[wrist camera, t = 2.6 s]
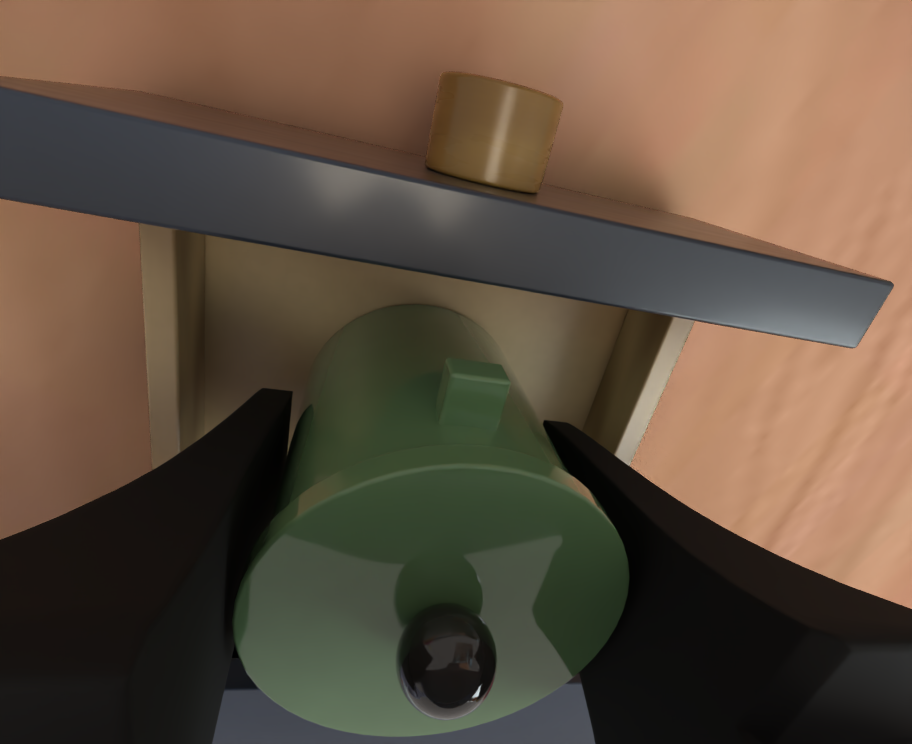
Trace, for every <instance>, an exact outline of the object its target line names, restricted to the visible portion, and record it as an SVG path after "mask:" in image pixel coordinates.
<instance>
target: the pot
mask: <svg viewBox="0 0 912 744" xmlns="http://www.w3.org/2000/svg"><path fill="white" fill-rule="evenodd" d="M629 580H630V574H629V564H628V556H627V553H626V550H625V547H624V543H623V541H622V539H621V537H620V535H619V533H618V531H617V529H616V528H615V526H614V524H613V522H612V521H611V519H610V517H609V516H608V514H607V512H606V510H605V509H604V507H603V506H602V504H601V503H600V502H599V501H598V499H597V498H596V497H595V496H594V495H593V493H592V492H591V491H590V490H589V489H588V488H586V487H585V486H584V485H583V484H582V483H581V482H579V481H578V480H577V479H576V478H575V477H573V476H571V475H570V473H569V471H568V470H567V468H566V466H565V464H564V462H563V461H562V459H561V457H560V455H559V453H558V451H557V450H556V448H555V446H554V444H553V442H552V441H551V439H550V437H549V435H548V433H547V431H546V430H545V428H544V426H543V424H542V422H541V421H540V419H539V417H538V415H537V413H536V411H535V410H534V408H533V406H532V404H531V402H530V401H529V399H528V397H527V395H526V393H525V391H524V390H523V388H522V386H521V384H520V382H519V381H518V379H517V377H516V375H515V373H514V371H513V370H512V368H511V366H510V364H509V362H508V360H507V359H506V357H505V355H504V353H503V352H502V350H501V348H500V346H499V345H498V344H497V343H496V341H495V340H494V339H493V337H492V336H491V335H490V334H489V333H487V332H486V331H485V330H484V329H483V328H482V327H481V326H479V325H478V324H476V323H475V322H474V321H472V320H471V319H469V318H467V317H465V316H463V315H461V314H459V313H456V312H453V311H451V310H448V309H445V308H440V307H436V306H430V305H420V304H408V305H397V306H390V307H386V308H382V309H379V310H375V311H372V312H370V313H367V314H365V315H363V316H360V317H358V318H357V319H355V320H353V321H351V322H350V323H348V324H346V325H345V326H344V327H343V328H341V329H340V330H339V331H337V332H336V333H335V334H334V335H333V336H332V337H331V338H330V339H329V340H328V341H327V342H326V343H325V344H324V346H323V347H322V349H321V350H320V351H319V353H318V354H317V356H316V358H315V360H314V362H313V363H312V365H311V368H310V371H309V374H308V376H307V380H306V384H305V388H304V392H303V395H302V399H301V403H300V407H299V411H298V415H297V419H296V423H295V427H294V431H293V435H292V439H291V443H290V447H289V451H288V455H287V458H286V462H285V466H284V470H283V474H282V478H281V482H280V486H279V490H278V494H277V498H276V502H275V506H274V510H273V514H272V518H271V522H270V524H269V525H268V526H267V528H266V529H265V530H264V531H263V533H262V534H261V535H260V536H259V538H258V539H257V541H256V543H255V545H254V547H253V548H252V550H251V552H250V554H249V556H248V558H247V560H246V563H245V566H244V569H243V572H242V575H241V578H240V582H239V585H238V588H237V592H236V595H235V599H234V605H233V613H232V632H233V640H234V644H235V647H236V651H237V654H238V658H239V660H240V662H241V663H242V665H243V667H244V669H245V671H246V673H247V674H248V676H249V677H250V678H251V680H252V681H253V682H254V683H255V685H256V686H257V687H258V688H259V689H260V690H261V691H262V692H263V693H264V694H265V695H266V696H267V697H269V698H270V699H271V700H272V701H274V702H275V703H276V704H278V705H279V706H281V707H282V708H284V709H285V710H287V711H289V712H291V713H293V714H295V715H297V716H299V717H301V718H303V719H305V720H307V721H310V722H313V723H315V724H318V725H321V726H323V727H327V728H331V729H335V730H339V731H343V732H348V733H354V734H360V735H369V736H382V737H411V736H424V735H433V734H440V733H447V732H453V731H457V730H461V729H466V728H470V727H474V726H478V725H481V724H484V723H487V722H491V721H494V720H497V719H499V718H502V717H504V716H507V715H510V714H512V713H515V712H517V711H519V710H521V709H523V708H525V707H527V706H529V705H532V704H533V703H535V702H537V701H539V700H541V699H542V698H544V697H546V696H548V695H549V694H551V693H552V692H554V691H555V690H557V689H558V688H560V687H561V686H563V685H564V684H566V683H567V682H568V681H569V680H571V679H572V678H573V677H574V676H576V675H577V674H578V673H579V672H580V671H582V670H583V669H584V668H585V667H586V666H587V665H588V664H589V663H590V662H591V661H592V660H593V659H594V658H595V657H596V656H597V654H598V653H599V652H600V651H601V649H602V648H603V647H604V645H605V644H606V643H607V642H608V640H609V638H610V637H611V635H612V634H613V632H614V630H615V629H616V627H617V625H618V623H619V621H620V618H621V616H622V614H623V611H624V608H625V605H626V601H627V597H628V592H629Z"/></svg>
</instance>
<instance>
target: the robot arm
mask: <svg viewBox="0 0 912 744" xmlns="http://www.w3.org/2000/svg"><path fill="white" fill-rule="evenodd" d="M292 395H293V391H287V390H278V389H269V388H262V389H260V390H259V391H257V392H256V393H255V394H254V395H253V396H252V397H250V398H249V399H248V400H247V401H246V402H245V403H244V404H242V405H241V406H240V407H239V408H238V409H237V410H235V411H234V412H233V413H232V414H231V415H229V416H228V417H227V418H226V419H225V420H223V421H222V422H221V423H219V424H218V425H217V426H216V427H214V428H213V429H212V430H211V431H209V432H208V433H207V434H205V435H204V436H203V437H201V438H200V439H199V440H197V441H196V442H194V443H193V444H191V445H190V446H189V447H187V448H186V449H184V450H183V451H181V452H180V453H178V454H177V455H176V456H174V457H173V458H171V459H170V460H168V461H167V462H165V463H163V464H162V465H160V466H159V467H157V468H155V469H154V470H152V471H150V472H148V473H146V474H145V475H143V476H141V477H139V478H138V479H136V480H134V481H132V482H130V483H129V484H127V485H125V486H123V487H121V488H119V489H117V490H115V491H113V492H111V493H108V494H106V495H104V496H102V497H100V498H98V499H96V500H94V501H91V502H89V503H87V504H85V505H83V506H81V507H79V508H77V509H74V510H72V511H70V512H68V513H66V514H64V515H61V516H59V517H57V518H54V519H52V520H49V521H47V522H44V523H42V524H40V525H37V526H35V527H32V528H30V529H27V530H25V531H22V532H19V533H17V534H14V535H12V536H9V537H6V538H4V539H1V540H0V744H212V742H213V737H214V733H215V729H216V724H217V720H218V715H219V711H220V707H221V702H222V698H223V693H224V689H225V684H226V680H227V676H228V671H229V667H230V663H231V659H232V654H233V650H234V646H235V644H234V640H233V632H232V613H233V605H234V599H235V595H236V592H237V588H238V585H239V582H240V578H241V575H242V572H243V569H244V566H245V563H246V560H247V558H248V556H249V554H250V552H251V550H252V548H253V547H254V545H255V543H256V541H257V539H258V538H259V536H260V535H261V534H262V533H263V531H264V530H265V529H266V528H267V526H268V525H269V524H270V522H271V518H272V514H273V510H274V506H275V502H276V498H277V494H278V490H279V486H280V482H281V478H282V474H283V470H284V466H285V462H286V458H287V451H288V440H289V429H290V417H291V406H292ZM543 426H544V428H545V430H546V431H547V433H548V435H549V437H550V439H551V441H552V442H553V444H554V446H555V448H556V450H557V451H558V453H559V455H560V457H561V459H562V461H563V462H564V464H565V466H566V468H567V470H568V471H569V473H570V475H571V476H573V477H575V478H576V479H577V480H578V481H579V482H581V483H582V484H583V485H584V486H585V487H586V488H588V489H589V490H590V491H591V492H592V493H593V495H594V496H595V497H596V498H597V499H598V501H599V502H600V503H601V504H602V506H603V507H604V509H605V510H606V512H607V514H608V516H609V517H610V519H611V521H612V522H613V524H614V526H615V528H616V529H617V531H618V533H619V535H620V537H621V539H622V541H623V543H624V547H625V550H626V553H627V556H628V564H629V574H630V580H629V592H628V597H627V601H626V605H625V608H624V611H623V614H622V616H621V618H620V621H619V623H618V625H617V627H616V629H615V630H614V632H613V634H612V635H611V637H610V638H609V640H608V642H607V643H606V644H605V645H604V647H603V648H602V649H601V651H600V652H599V653H598V654H597V656H596V657H595V658H594V659H593V660H592V661H591V662H590V663H589V664H588V665H587V666H586V667H585V668H584V669H583V670H582V671H580V672H579V674H580V679H581V683H582V687H583V691H584V696H585V700H586V704H587V708H588V712H589V717H590V721H591V725H592V730H593V735H594V740H595V744H912V609H910V608H907V607H904V606H902V605H899V604H896V603H893V602H891V601H888V600H885V599H883V598H880V597H877V596H874V595H872V594H869V593H866V592H863V591H861V590H858V589H855V588H853V587H850V586H847V585H845V584H842V583H840V582H837V581H835V580H833V579H830V578H828V577H826V576H823V575H821V574H818V573H816V572H814V571H811V570H809V569H807V568H804V567H802V566H800V565H798V564H795V563H793V562H791V561H789V560H787V559H785V558H782V557H780V556H778V555H776V554H774V553H772V552H770V551H768V550H766V549H764V548H762V547H760V546H758V545H756V544H754V543H752V542H750V541H748V540H746V539H744V538H742V537H740V536H738V535H736V534H734V533H733V532H731V531H729V530H727V529H725V528H723V527H722V526H720V525H718V524H716V523H715V522H713V521H711V520H710V519H708V518H706V517H705V516H703V515H701V514H699V513H698V512H696V511H694V510H693V509H691V508H689V507H688V506H686V505H685V504H683V503H681V502H680V501H678V500H677V499H675V498H674V497H672V496H671V495H669V494H668V493H666V492H665V491H664V490H662V489H661V488H659V487H658V486H656V485H655V484H653V483H652V482H650V481H649V480H648V479H646V478H645V477H643V476H642V475H641V474H639V473H638V472H636V471H635V470H634V469H632V468H631V467H630V466H628V465H627V464H626V463H624V462H623V461H622V460H620V459H619V458H618V457H616V456H615V455H614V454H612V453H611V452H610V451H608V450H607V449H606V448H604V447H603V446H602V445H600V444H599V443H598V442H596V441H595V440H593V439H592V438H591V437H589V436H588V435H586V434H585V433H584V432H582V431H581V430H579V429H578V428H576V427H575V426H573V425H571V424H569V423H568V422H559V421H550V420H544V422H543Z"/></svg>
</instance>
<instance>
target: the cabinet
mask: <svg viewBox="0 0 912 744" xmlns="http://www.w3.org/2000/svg"><path fill="white" fill-rule="evenodd" d="M212 744H595V740H594V735H593V730H592V725H591V721H590V717H589V712H588V708H587V704H586V700H585V696H584V691H583V687H582V683H581V679H580V674H579V673H578V674H577V675H576V676H574V677H573V678H572V679H571V680H569V681H568V682H567V683H566V684H564V685H563V686H561V687H560V688H558V689H557V690H555V691H554V692H552V693H551V694H549V695H548V696H546V697H544V698H542V699H541V700H539V701H537V702H535V703H533V704H532V705H529V706H527V707H525V708H523V709H521V710H519V711H517V712H515V713H512V714H510V715H507V716H504V717H502V718H499V719H497V720H494V721H491V722H487V723H484V724H481V725H478V726H474V727H470V728H466V729H461V730H457V731H453V732H447V733H440V734H433V735H424V736H411V737H382V736H369V735H360V734H354V733H348V732H343V731H339V730H335V729H331V728H327V727H323V726H321V725H318V724H315V723H313V722H310V721H307V720H305V719H303V718H301V717H299V716H297V715H295V714H293V713H291V712H289V711H287V710H285V709H284V708H282V707H281V706H279V705H278V704H276V703H275V702H274V701H272V700H271V699H270V698H269V697H267V696H266V695H265V694H264V693H263V692H262V691H261V690H260V689H259V688H258V687H257V686H256V685H255V683H254V682H253V681H252V680H251V678H250V677H249V676H248V674H247V673H246V671H245V669H244V667H243V665H242V663H241V662H240V660H239V658H238V654H237V651H236V647H235V646H234V650H233V654H232V659H231V663H230V667H229V671H228V676H227V680H226V684H225V689H224V693H223V698H222V702H221V707H220V711H219V715H218V720H217V724H216V729H215V733H214V737H213V742H212Z"/></svg>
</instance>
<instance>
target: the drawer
mask: <svg viewBox="0 0 912 744" xmlns="http://www.w3.org/2000/svg"><path fill="white" fill-rule="evenodd" d="M562 109H563V103H562V101H560V100H559V99H558V98H556V97H554V96H551V95H549V94H546V93H544V92H541V91H538V90H535V89H532V88H528V87H525V86H522V85H518V84H514V83H511V82H507V81H503V80H499V79H494V78H490V77H485V76H480V75H475V74H469V73H462V72H450V71H449V72H443V73H442V74H441V76H440V79H439V85H438V91H437V96H436V102H435V108H434V113H433V119H432V124H431V130H430V136H429V141H428V147H427V153H426V157H424V156H420V155H416V154H411V153H407V152H403V151H398V150H394V149H390V148H385V147H381V146H377V145H372V144H368V143H363V142H359V141H355V140H350V139H346V138H342V137H337V136H333V135H329V134H324V133H320V132H316V131H311V130H307V129H303V128H298V127H294V126H290V125H285V124H281V123H277V122H272V121H268V120H264V119H259V118H255V117H251V116H246V115H242V114H238V113H233V112H229V111H225V110H220V109H216V108H212V107H207V106H203V105H199V104H194V103H190V102H186V101H181V100H177V99H173V98H168V97H164V96H160V95H155V94H151V93H147V92H142V91H134V90H125V89H115V88H106V87H97V86H88V85H78V84H69V83H60V82H51V81H42V80H32V79H23V78H14V77H5V76H0V199H5V200H10V201H16V202H22V203H27V204H33V205H39V206H45V207H50V208H56V209H62V210H67V211H73V212H79V213H84V214H90V215H96V216H101V217H107V218H113V219H118V220H124V221H130V222H135V223H139V235H140V254H141V273H142V292H143V310H144V329H145V348H146V366H147V385H148V404H149V422H150V441H151V460H152V470H154V469H155V468H157V467H159V466H160V465H162V464H163V463H165V462H167V461H168V460H170V459H171V458H173V457H174V456H176V455H177V454H178V453H180V452H181V451H183V450H184V449H186V448H187V447H189V446H190V445H191V444H193V443H194V442H196V441H197V440H199V439H200V438H201V437H203V436H204V435H205V434H207V433H208V432H209V431H211V430H212V429H213V428H214V427H216V426H217V425H218V424H219V423H221V422H222V421H223V420H225V419H226V418H227V417H228V416H229V415H231V414H232V413H233V412H234V411H235V410H237V409H238V408H239V407H240V406H241V405H242V404H244V403H245V402H246V401H247V400H248V399H249V398H250V397H252V396H253V395H254V394H255V393H256V392H257V391H259V390H260V389H262V388H269V389H278V390H287V391H293V395H292V406H291V417H290V429H289V440H288V451H289V447H290V443H291V439H292V435H293V431H294V427H295V423H296V419H297V415H298V411H299V407H300V403H301V399H302V395H303V392H304V388H305V384H306V380H307V376H308V374H309V371H310V368H311V365H312V363H313V362H314V360H315V358H316V356H317V354H318V353H319V351H320V350H321V349H322V347H323V346H324V344H325V343H326V342H327V341H328V340H329V339H330V338H331V337H332V336H333V335H334V334H335V333H336V332H337V331H339V330H340V329H341V328H343V327H344V326H345V325H346V324H348V323H350V322H351V321H353V320H355V319H357V318H358V317H360V316H363V315H365V314H367V313H370V312H372V311H375V310H379V309H382V308H386V307H390V306H397V305H408V304H420V305H430V306H436V307H440V308H445V309H448V310H451V311H453V312H456V313H459V314H461V315H463V316H465V317H467V318H469V319H471V320H472V321H474V322H475V323H476V324H478V325H479V326H481V327H482V328H483V329H484V330H485V331H486V332H487V333H489V334H490V335H491V336H492V337H493V339H494V340H495V341H496V343H497V344H498V345H499V346H500V348H501V350H502V352H503V353H504V355H505V357H506V359H507V360H508V362H509V364H510V366H511V368H512V370H513V371H514V373H515V375H516V377H517V379H518V381H519V382H520V384H521V386H522V388H523V390H524V391H525V393H526V395H527V397H528V399H529V401H530V402H531V404H532V406H533V408H534V410H535V411H536V413H537V415H538V417H539V419H540V421H541V422H542V424H543V422H544V420H550V421H559V422H568V423H569V424H571V425H573V426H575V427H576V428H578V429H579V430H581V431H582V432H584V433H585V434H586V435H588V436H589V437H591V438H592V439H593V440H595V441H596V442H598V443H599V444H600V445H602V446H603V447H604V448H606V449H607V450H608V451H610V452H611V453H612V454H614V455H615V456H616V457H618V458H619V459H620V460H622V461H623V462H624V463H626V464H627V465H628V466H630V464H631V462H632V460H633V457H634V455H635V453H636V451H637V448H638V446H639V444H640V442H641V440H642V437H643V435H644V433H645V431H646V428H647V426H648V424H649V422H650V420H651V417H652V415H653V413H654V411H655V408H656V406H657V404H658V402H659V400H660V397H661V395H662V393H663V391H664V389H665V386H666V384H667V382H668V380H669V377H670V375H671V373H672V371H673V369H674V366H675V364H676V362H677V360H678V357H679V355H680V353H681V351H682V349H683V346H684V344H685V342H686V340H687V338H688V335H689V333H690V331H691V329H692V326H693V324H694V322H695V321H698V322H704V323H710V324H715V325H721V326H727V327H732V328H738V329H744V330H750V331H755V332H761V333H767V334H772V335H778V336H784V337H789V338H795V339H801V340H806V341H812V342H818V343H823V344H829V345H835V346H840V347H846V348H856V347H857V346H858V344H859V342H860V341H861V339H862V338H863V336H864V334H865V333H866V331H867V329H868V328H869V326H870V325H871V323H872V321H873V320H874V318H875V316H876V315H877V313H878V311H879V310H880V308H881V307H882V305H883V303H884V302H885V300H886V298H887V297H888V295H889V294H890V292H891V290H892V289H893V286H894V284H893V283H892V282H891V281H887V280H884V279H881V278H878V277H875V276H872V275H869V274H866V273H862V272H859V271H856V270H853V269H850V268H847V267H844V266H840V265H837V264H834V263H831V262H828V261H825V260H822V259H819V258H815V257H812V256H809V255H806V254H803V253H800V252H797V251H793V250H790V249H787V248H784V247H781V246H778V245H775V244H772V243H768V242H765V241H762V240H759V239H756V238H753V237H750V236H746V235H743V234H740V233H737V232H734V231H731V230H728V229H724V228H721V227H718V226H715V225H712V224H709V223H706V222H703V221H699V220H696V219H693V218H689V217H685V216H680V215H676V214H672V213H667V212H663V211H659V210H654V209H650V208H646V207H641V206H637V205H632V204H628V203H624V202H619V201H615V200H611V199H606V198H602V197H598V196H593V195H589V194H585V193H580V192H576V191H572V190H567V189H563V188H559V187H554V186H550V185H546V184H542V181H543V178H544V174H545V170H546V167H547V163H548V160H549V156H550V152H551V149H552V145H553V141H554V138H555V134H556V131H557V127H558V123H559V120H560V116H561V112H562ZM288 451H287V455H288Z"/></svg>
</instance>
